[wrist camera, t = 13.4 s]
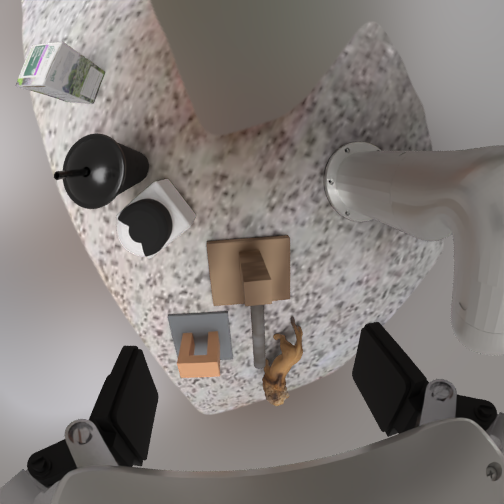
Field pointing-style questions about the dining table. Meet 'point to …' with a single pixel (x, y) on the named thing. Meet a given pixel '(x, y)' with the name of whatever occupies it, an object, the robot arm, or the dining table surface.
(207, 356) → the c link
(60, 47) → the syrup box
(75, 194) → the drinking cup
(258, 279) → the stand
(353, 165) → the robot arm
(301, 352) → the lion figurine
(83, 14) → the dining table surface
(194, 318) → the slate mat
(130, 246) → the medicine bottle
